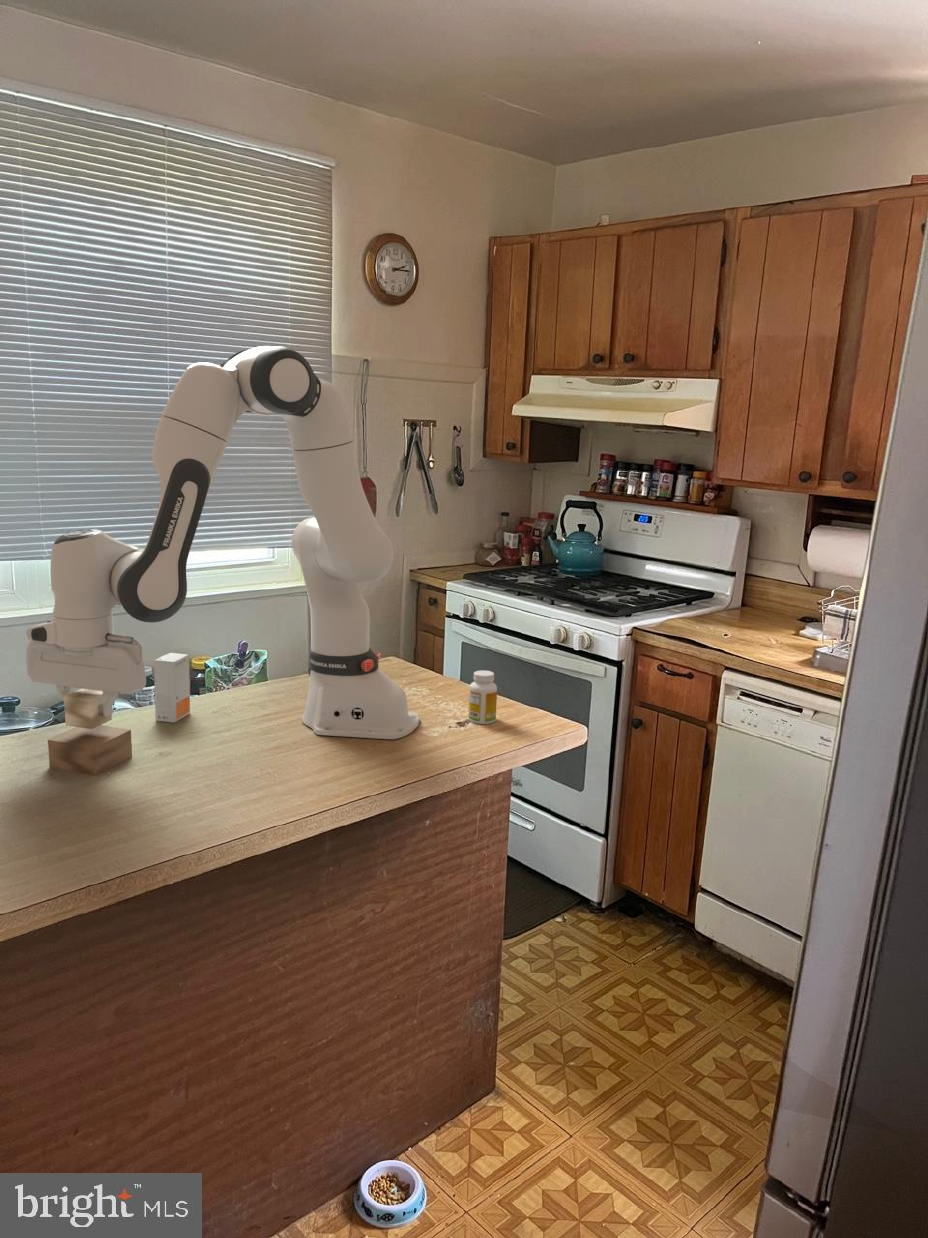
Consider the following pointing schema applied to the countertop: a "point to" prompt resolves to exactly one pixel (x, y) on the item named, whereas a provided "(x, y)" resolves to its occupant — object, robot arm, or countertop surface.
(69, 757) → the walnut block
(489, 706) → the supplement bottle
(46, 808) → the countertop surface
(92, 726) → the birch cube
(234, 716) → the countertop surface
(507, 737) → the countertop surface
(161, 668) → the skincare box
